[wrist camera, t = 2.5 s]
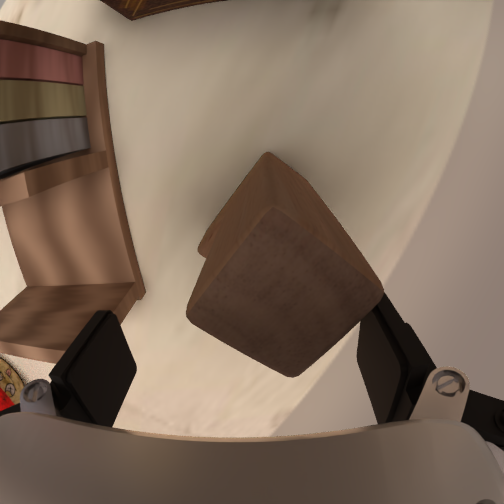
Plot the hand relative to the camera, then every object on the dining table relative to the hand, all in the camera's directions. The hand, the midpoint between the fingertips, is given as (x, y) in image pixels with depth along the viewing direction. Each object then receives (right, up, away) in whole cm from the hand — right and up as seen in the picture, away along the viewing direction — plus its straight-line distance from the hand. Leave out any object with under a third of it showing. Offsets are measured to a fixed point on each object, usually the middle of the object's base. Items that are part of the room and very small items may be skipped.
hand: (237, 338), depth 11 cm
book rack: (-20, +10, +15) cm, 26 cm away
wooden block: (+1, +7, +15) cm, 17 cm away
